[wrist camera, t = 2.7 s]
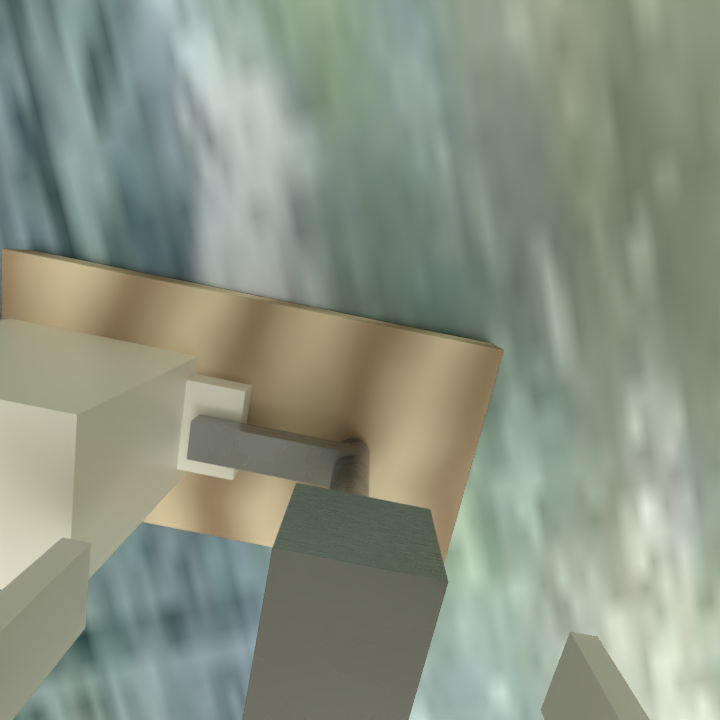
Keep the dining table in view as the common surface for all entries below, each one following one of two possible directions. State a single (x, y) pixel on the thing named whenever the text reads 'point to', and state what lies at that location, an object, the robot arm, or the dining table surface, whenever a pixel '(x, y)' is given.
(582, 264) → the dining table surface
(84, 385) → the cream rectangular block
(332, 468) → the t key
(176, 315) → the base plate
